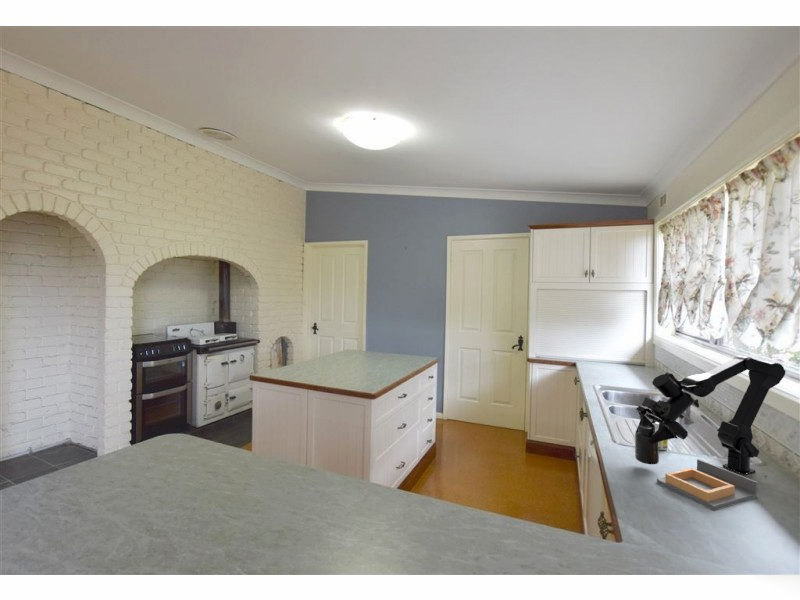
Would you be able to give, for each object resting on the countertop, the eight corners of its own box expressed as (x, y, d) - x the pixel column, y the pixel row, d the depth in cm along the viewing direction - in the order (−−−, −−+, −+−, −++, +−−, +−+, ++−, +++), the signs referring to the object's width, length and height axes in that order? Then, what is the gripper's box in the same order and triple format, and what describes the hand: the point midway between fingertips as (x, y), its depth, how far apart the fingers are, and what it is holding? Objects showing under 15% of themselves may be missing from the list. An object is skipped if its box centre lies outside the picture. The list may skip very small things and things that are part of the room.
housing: (698, 472, 126) (698, 459, 126) (757, 497, 111) (757, 481, 111) (656, 482, 119) (657, 468, 119) (713, 510, 104) (713, 493, 104)
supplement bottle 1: (651, 456, 132) (651, 422, 132) (663, 465, 125) (663, 430, 125) (630, 455, 133) (631, 422, 132) (641, 464, 126) (641, 429, 126)
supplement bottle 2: (664, 445, 148) (665, 421, 148) (669, 451, 143) (670, 425, 143) (648, 443, 150) (649, 419, 150) (653, 449, 145) (653, 424, 145)
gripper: (641, 383, 138) (611, 413, 138) (679, 397, 119) (644, 432, 119) (662, 404, 138) (632, 434, 138) (703, 422, 119) (668, 456, 119)
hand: (642, 438), depth 129 cm, fingers closed on supplement bottle 1, 7 cm apart
